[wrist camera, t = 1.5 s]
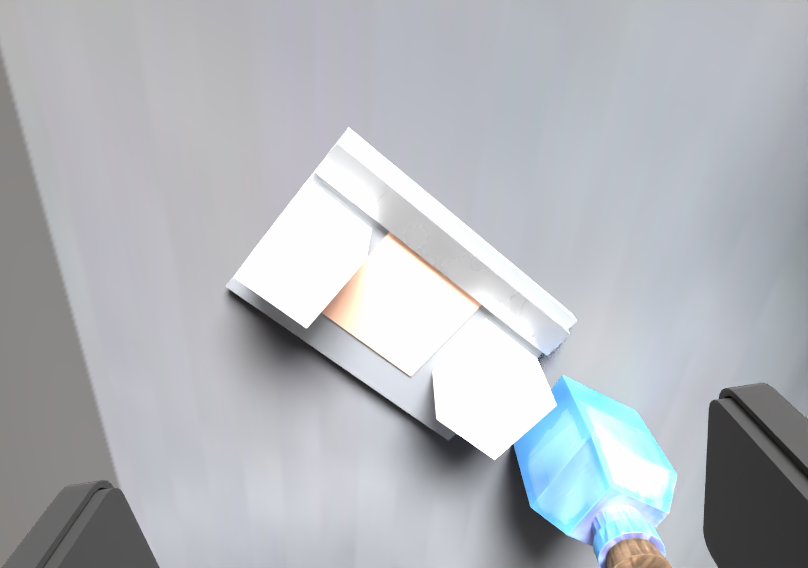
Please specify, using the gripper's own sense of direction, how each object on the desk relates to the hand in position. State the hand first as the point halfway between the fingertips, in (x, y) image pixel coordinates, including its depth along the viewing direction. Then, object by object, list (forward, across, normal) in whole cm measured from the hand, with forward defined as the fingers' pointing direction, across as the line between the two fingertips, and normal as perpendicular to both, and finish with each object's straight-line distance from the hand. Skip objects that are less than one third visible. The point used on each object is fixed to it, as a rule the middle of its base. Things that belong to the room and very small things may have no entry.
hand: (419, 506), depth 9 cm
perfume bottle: (+25, -8, +19) cm, 33 cm away
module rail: (+25, +1, +8) cm, 26 cm away
